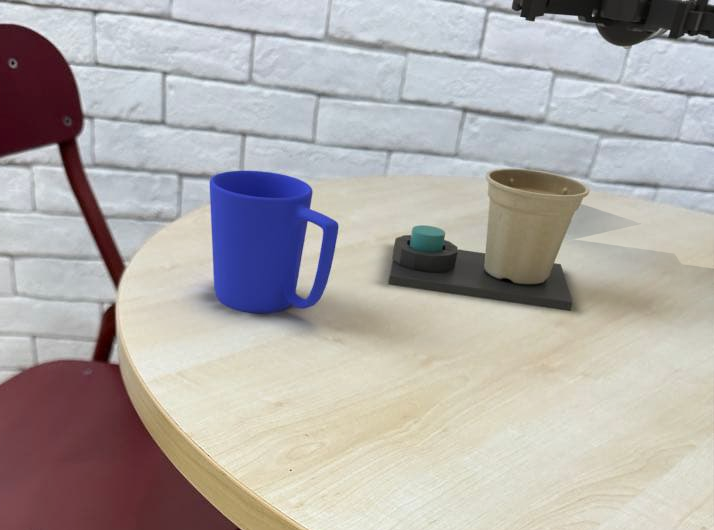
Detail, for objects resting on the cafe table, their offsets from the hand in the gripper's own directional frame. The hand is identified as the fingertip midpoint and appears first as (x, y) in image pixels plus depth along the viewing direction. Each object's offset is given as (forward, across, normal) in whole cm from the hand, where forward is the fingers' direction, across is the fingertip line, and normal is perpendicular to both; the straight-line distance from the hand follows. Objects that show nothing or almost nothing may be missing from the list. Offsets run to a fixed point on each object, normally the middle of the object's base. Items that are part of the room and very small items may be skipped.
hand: (600, 10), depth 77 cm
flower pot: (+10, 0, -22) cm, 24 cm away
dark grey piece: (+11, +4, -23) cm, 26 cm away
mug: (+30, +16, -23) cm, 42 cm away
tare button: (+12, +9, -20) cm, 25 cm away
